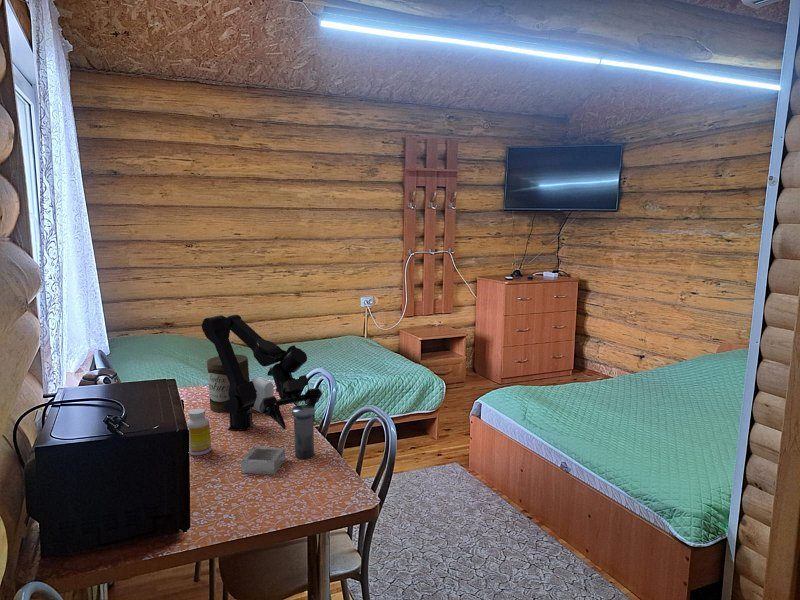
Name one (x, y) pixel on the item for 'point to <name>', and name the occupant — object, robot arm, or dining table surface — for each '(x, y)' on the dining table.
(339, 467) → the dining table surface
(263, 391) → the white rounded block
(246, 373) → the wooden container
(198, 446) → the supplement bottle
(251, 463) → the gray square frame
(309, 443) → the dark grey metal cylinder
